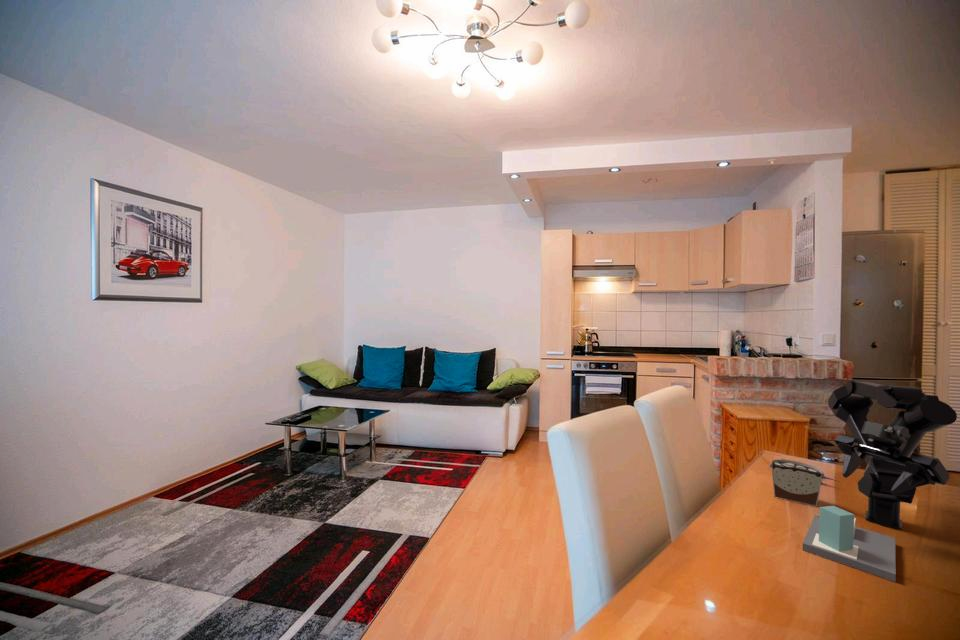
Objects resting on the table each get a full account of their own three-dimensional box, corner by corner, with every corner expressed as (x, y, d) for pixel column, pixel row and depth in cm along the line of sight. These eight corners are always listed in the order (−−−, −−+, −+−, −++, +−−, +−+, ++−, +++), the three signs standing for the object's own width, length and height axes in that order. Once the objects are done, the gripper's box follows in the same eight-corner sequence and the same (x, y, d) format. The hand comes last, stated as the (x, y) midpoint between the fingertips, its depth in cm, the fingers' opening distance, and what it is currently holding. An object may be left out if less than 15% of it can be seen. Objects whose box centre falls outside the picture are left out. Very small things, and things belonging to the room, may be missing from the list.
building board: (814, 520, 100) (815, 504, 100) (894, 544, 90) (895, 527, 90) (802, 549, 86) (803, 531, 86) (895, 582, 76) (896, 561, 76)
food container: (819, 500, 113) (820, 465, 113) (824, 508, 108) (825, 471, 108) (766, 488, 119) (767, 455, 119) (768, 496, 114) (769, 461, 114)
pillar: (832, 539, 88) (833, 505, 88) (853, 549, 84) (854, 514, 84) (818, 541, 87) (819, 507, 87) (838, 551, 83) (840, 515, 83)
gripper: (841, 402, 100) (805, 447, 98) (942, 420, 82) (902, 476, 79) (862, 432, 102) (829, 477, 99) (966, 456, 84) (928, 512, 81)
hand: (867, 484), depth 90 cm, fingers open, 9 cm apart
